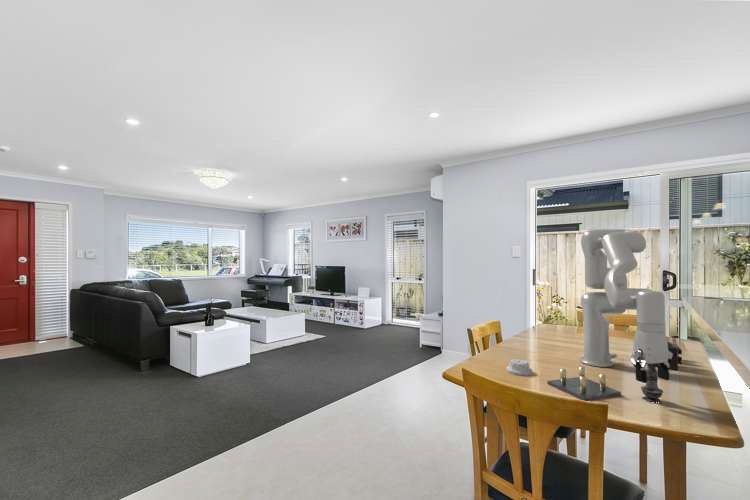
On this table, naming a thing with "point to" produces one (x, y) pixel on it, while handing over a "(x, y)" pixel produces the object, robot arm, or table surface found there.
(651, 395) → the grey chess piece
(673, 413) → the table surface
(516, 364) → the mechanical component
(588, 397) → the standoff chassis
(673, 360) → the dark boxy piece
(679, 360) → the end cap
